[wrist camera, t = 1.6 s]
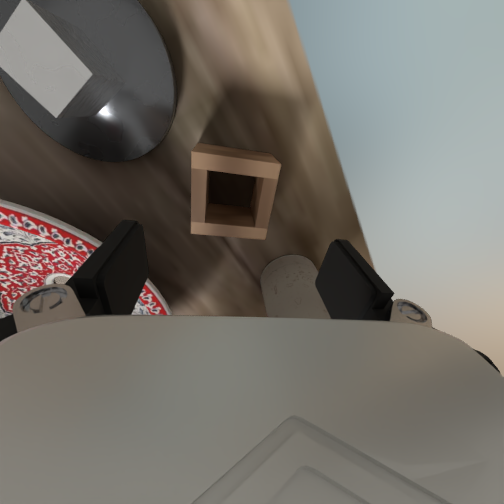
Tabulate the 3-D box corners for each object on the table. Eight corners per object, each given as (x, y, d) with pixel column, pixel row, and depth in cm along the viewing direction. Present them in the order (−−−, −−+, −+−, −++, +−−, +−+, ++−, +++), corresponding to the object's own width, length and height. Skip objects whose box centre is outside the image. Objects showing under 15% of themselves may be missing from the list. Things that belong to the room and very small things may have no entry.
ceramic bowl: (43, 367, 36) (3, 426, 30) (-189, 203, 20) (-391, 250, 14) (215, 328, 35) (212, 380, 29) (113, 123, 19) (55, 131, 13)
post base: (207, 98, 19) (200, 94, 14) (116, 184, 22) (81, 209, 17) (67, -103, 13) (-45, -251, 8) (-30, 53, 16) (-159, 26, 11)
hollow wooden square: (270, 153, 22) (281, 164, 18) (258, 218, 26) (265, 239, 21) (198, 142, 21) (191, 151, 17) (196, 212, 24) (190, 233, 20)
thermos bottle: (273, 305, 34) (382, 747, 10) (250, 270, 30) (343, 875, 6) (322, 284, 32) (573, 738, 9) (305, 244, 28) (687, 895, 5)
